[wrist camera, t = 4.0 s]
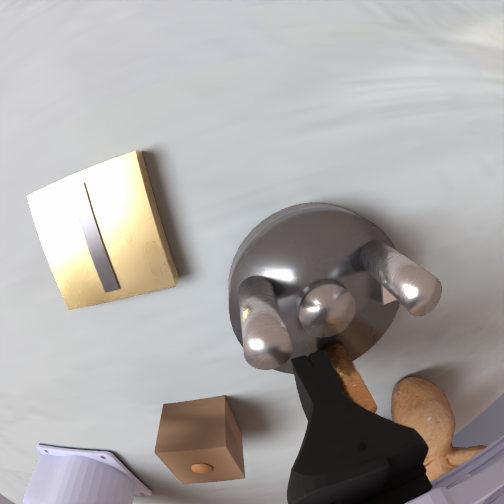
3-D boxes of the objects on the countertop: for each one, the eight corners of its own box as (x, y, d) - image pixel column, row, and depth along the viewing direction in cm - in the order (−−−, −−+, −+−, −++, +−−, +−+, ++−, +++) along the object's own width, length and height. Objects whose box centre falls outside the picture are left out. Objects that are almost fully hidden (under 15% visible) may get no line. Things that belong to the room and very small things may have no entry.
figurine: (418, 351, 17) (537, 501, 5) (431, 379, 22) (515, 486, 10) (297, 444, 18) (384, 598, 6) (343, 448, 23) (410, 558, 11)
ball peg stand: (253, 367, 16) (266, 454, 10) (205, 230, 13) (191, 290, 8) (387, 323, 16) (442, 390, 10) (372, 185, 13) (456, 210, 7)
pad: (76, 301, 14) (68, 311, 13) (38, 192, 12) (26, 196, 11) (179, 277, 14) (175, 287, 13) (141, 151, 12) (134, 150, 11)
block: (186, 438, 18) (182, 484, 14) (163, 403, 17) (154, 453, 13) (241, 431, 18) (245, 479, 14) (224, 394, 17) (225, 447, 13)
